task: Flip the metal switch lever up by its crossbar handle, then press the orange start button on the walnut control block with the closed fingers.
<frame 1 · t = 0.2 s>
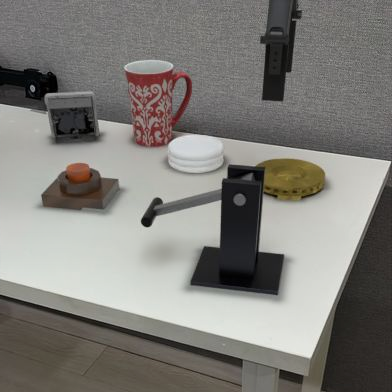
hand: (277, 85, 77), 18 cm above the table, tool pointing down, fingers open, 13 cm apart
switch lever: (198, 200, 68), point 10 cm above the table, hinge at -20.0°
button block: (82, 199, 90), on the table
start button: (78, 172, 88), point 4 cm above the table, slide at 0.1 cm
compass: (287, 186, 94), on the table
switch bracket: (238, 275, 73), on the table
coaster: (195, 164, 102), on the table
mug: (161, 140, 110), on the table
electrical switch: (77, 142, 110), on the table
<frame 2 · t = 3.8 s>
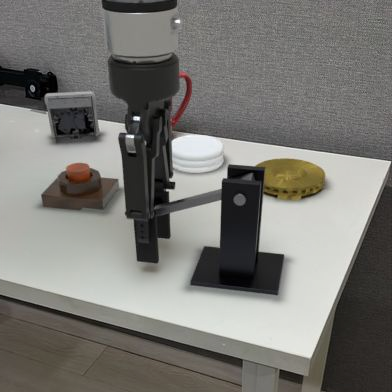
hand: (154, 248, 73), 3 cm above the table, tool pointing down, fingers closed on switch lever, 5 cm apart
switch lever: (198, 200, 68), point 10 cm above the table, hinge at -20.0°, touching gripper
everything else where it was.
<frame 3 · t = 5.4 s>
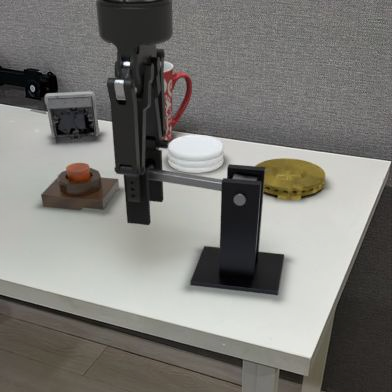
hand: (146, 210, 70), 8 cm above the table, tool pointing down, fingers closed on switch lever, 5 cm apart
switch lever: (196, 181, 66), point 12 cm above the table, hinge at 4.5°, touching gripper
everything else where it was.
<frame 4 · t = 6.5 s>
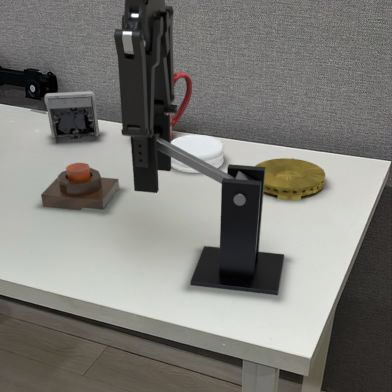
hand: (153, 179, 67), 12 cm above the table, tool pointing down, fingers closed on switch lever, 5 cm apart
switch lever: (200, 165, 65), point 14 cm above the table, hinge at 24.5°, touching gripper
everything else where it was.
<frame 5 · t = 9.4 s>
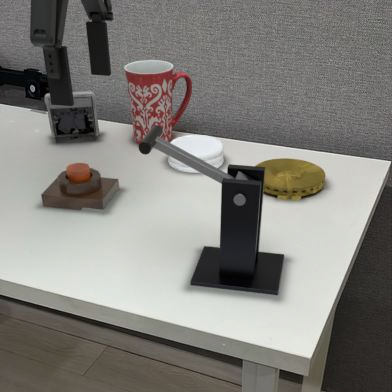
hand: (83, 88, 74), 18 cm above the table, tool pointing down, fingers open, 13 cm apart
switch lever: (200, 165, 65), point 14 cm above the table, hinge at 24.6°
everything else where it was.
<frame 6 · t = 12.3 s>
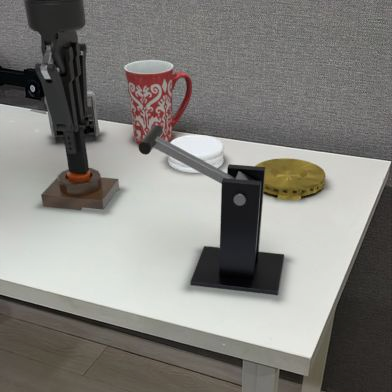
hand: (79, 170, 87), 5 cm above the table, tool pointing down, fingers closed
start button: (79, 177, 88), point 4 cm above the table, slide at -0.7 cm, touching gripper
everything else where it was.
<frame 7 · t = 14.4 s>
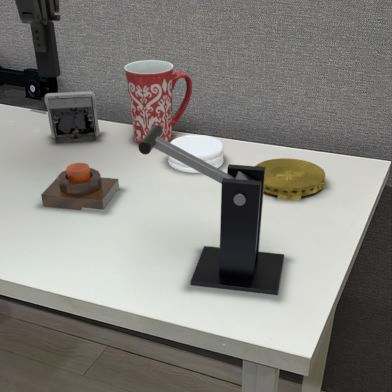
hand: (49, 75, 79), 18 cm above the table, tool pointing down, fingers closed
start button: (78, 172, 88), point 4 cm above the table, slide at 0.1 cm
everything else where it was.
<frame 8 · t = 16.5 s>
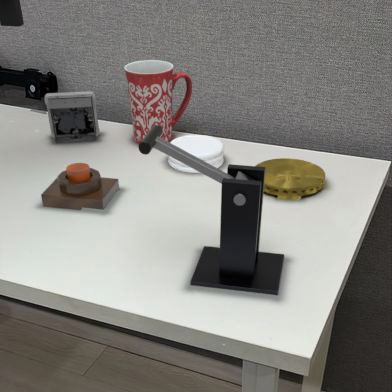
hand: (12, 24, 76), 24 cm above the table, tool pointing down, fingers closed
nothing on the table moved.
at the end: switch lever at +25° (first picture: -20°); start button pushed in 1.0 cm at the most during the clip, back to where it started at the end; start button slide at 0.1 cm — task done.
